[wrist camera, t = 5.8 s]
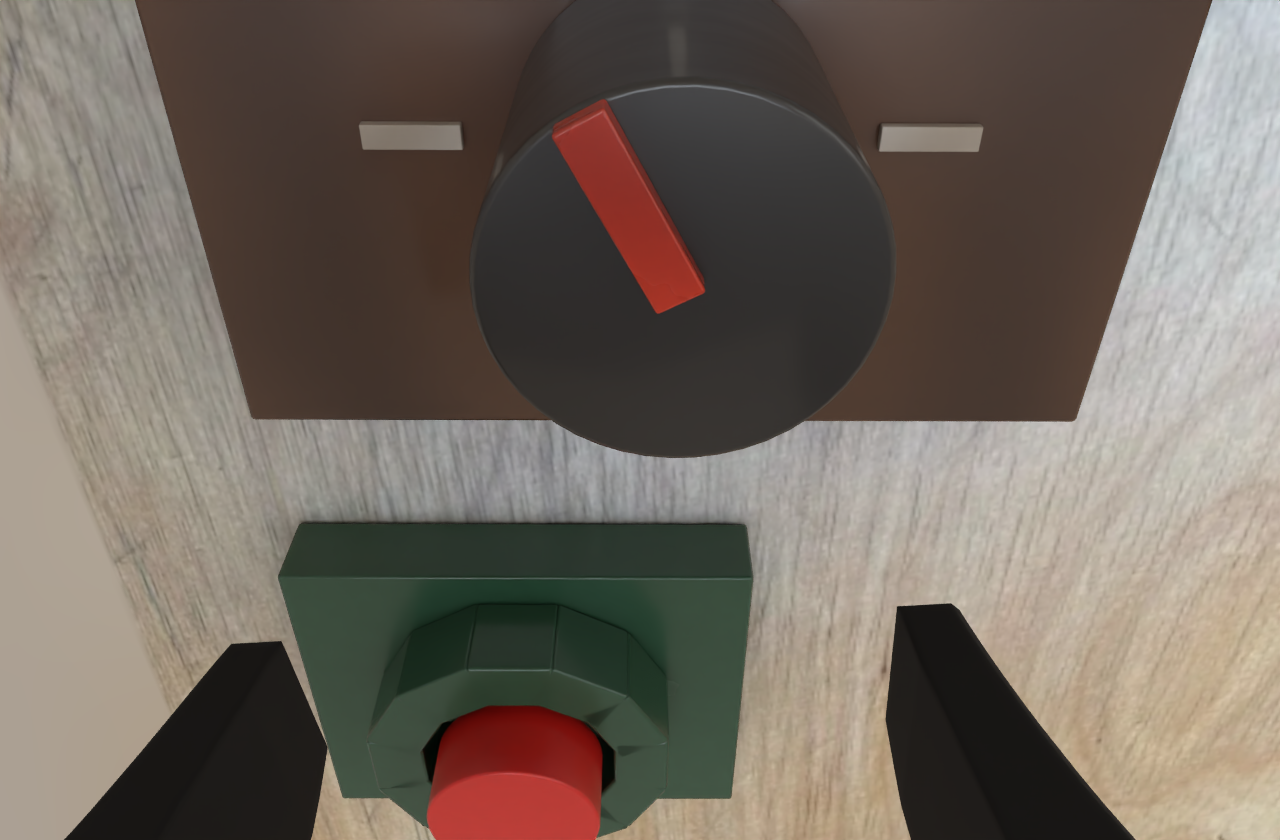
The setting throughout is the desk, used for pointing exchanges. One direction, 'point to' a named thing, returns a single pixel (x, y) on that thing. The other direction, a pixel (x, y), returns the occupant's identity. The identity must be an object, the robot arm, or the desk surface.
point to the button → (516, 777)
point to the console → (471, 135)
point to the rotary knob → (679, 229)
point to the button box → (526, 646)
